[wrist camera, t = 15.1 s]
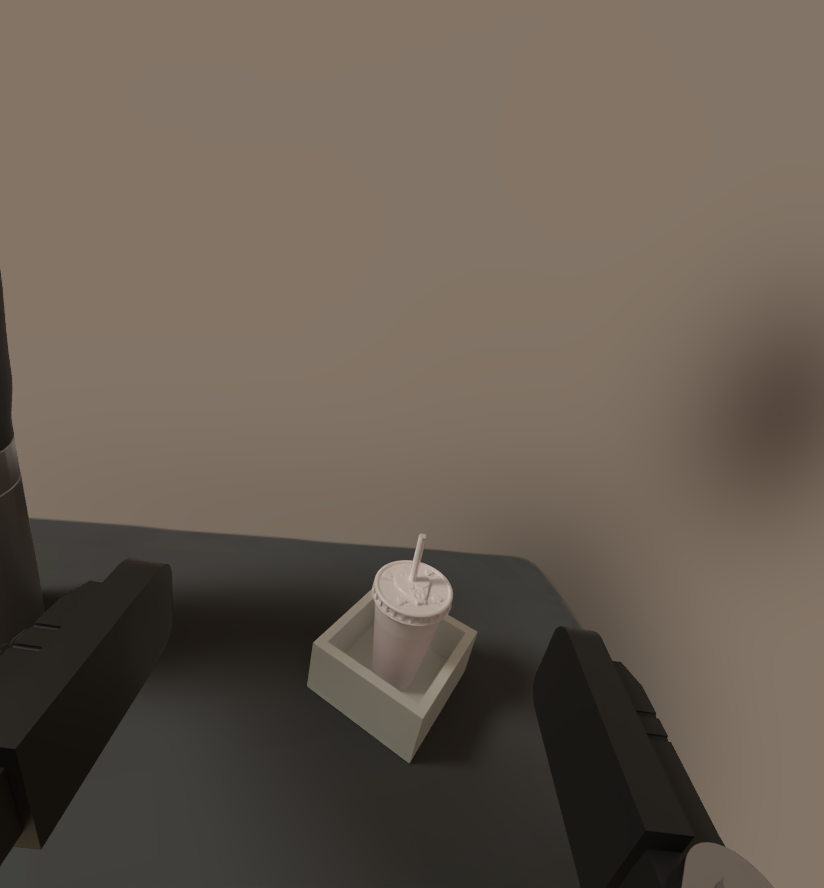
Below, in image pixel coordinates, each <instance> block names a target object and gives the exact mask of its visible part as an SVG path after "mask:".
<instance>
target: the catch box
mask: <svg viewBox="0 0 824 888" xmlns="http://www.w3.org/2000/svg"><path fill="white" fill-rule="evenodd" d="M374 617H375V601H374V599H373V595H372V589H371V590H370V591H369V592H368V593H367V594H366V595H365V596H364V597H363V598H361V599H360V600H359V601H358V602H357V603H356V604H355V605H354V606H353V607H352V608H350V609H349V610H348V611H347V612H346V613H345V614H344V615H343V616H342V617H341V618H340V619H338V620H337V621H336V622H335V623H334V624H333V625H332V626H331V627H330V628H329V629H327V630H326V631H325V632H324V633H323V634H322V635H321V636H320V637H319V638H318V639H316V640H315V641H314V642H313V646H312V654H311V661H310V668H309V675H308V683H307V687H308V688H310V689H311V690H312V691H314V692H315V693H316V694H318V695H319V696H320V697H322V698H323V699H324V700H326V701H327V702H328V703H330V704H331V705H332V706H334V707H335V708H336V709H338V710H339V711H340V712H342V713H343V714H344V715H346V716H347V717H348V718H349V719H351V720H352V721H353V722H355V723H356V724H357V725H359V726H360V727H361V728H363V729H364V730H365V731H367V732H368V733H369V734H371V735H372V736H373V737H375V738H376V739H377V740H379V741H380V742H381V743H383V744H384V745H385V746H387V747H388V748H389V749H391V750H392V751H393V752H395V753H396V754H397V755H399V756H400V757H401V758H403V759H404V760H405V761H407V762H408V763H409V764H410V762H411V760H412V759H413V757H414V755H415V754H416V752H417V750H418V749H419V747H420V745H421V744H422V742H423V740H424V739H425V737H426V735H427V733H428V732H429V730H430V728H431V727H432V725H433V723H434V722H435V720H436V718H437V717H438V715H439V713H440V712H441V710H442V708H443V707H444V705H445V703H446V702H447V700H448V698H449V697H450V695H451V693H452V692H453V690H454V688H455V687H456V685H457V683H458V682H459V680H460V678H461V677H462V675H463V673H464V672H465V669H466V666H467V662H468V659H469V656H470V653H471V650H472V647H473V644H474V641H475V638H476V635H477V631H475V630H473V629H472V628H470V627H468V626H466V625H465V624H463V623H461V622H459V621H458V620H456V619H454V618H452V617H451V616H449V615H447V616H446V617H445V618H444V619H443V620H441V622H440V624H439V626H438V628H437V630H436V632H435V634H434V637H433V639H432V641H431V643H430V645H429V647H428V650H427V652H426V654H425V656H424V658H423V660H422V662H421V665H420V667H419V669H418V671H417V673H416V675H415V678H414V680H413V682H412V684H411V685H410V686H409V687H408V688H407V689H405V690H403V691H399V690H397V689H396V688H394V687H393V686H391V685H390V684H389V683H387V682H386V681H384V680H383V679H381V678H380V677H378V676H377V675H375V674H374V673H373V672H372V661H373V639H374Z"/></svg>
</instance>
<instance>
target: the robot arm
mask: <svg viewBox="0 0 824 888" xmlns="http://www.w3.org/2000/svg"><path fill="white" fill-rule="evenodd" d="M11 407H12V375H11V368H10V360H9V354H8V344H7V334H6V324H5V313H4V301H3V289H2V281H1V273H0V865H1V864H2V862H3V861H4V859H5V858H6V856H7V855H8V853H9V852H10V850H11V849H12V847H21V848H30V849H39V850H41V849H42V847H43V846H44V844H45V842H46V841H47V839H48V838H49V836H50V834H51V833H52V831H53V830H54V828H55V826H56V825H57V823H58V822H59V820H60V818H61V817H62V815H63V813H64V812H65V810H66V809H67V807H68V805H69V804H70V802H71V801H72V799H73V797H74V796H75V794H76V793H77V791H78V789H79V788H80V786H81V784H82V783H83V781H84V780H85V778H86V776H87V775H88V773H89V772H90V770H91V768H92V767H93V765H94V764H95V762H96V760H97V759H98V757H99V755H100V754H101V752H102V751H103V749H104V747H105V746H106V744H107V743H108V741H109V739H110V738H111V736H112V735H113V733H114V731H115V730H116V728H117V726H118V725H119V723H120V722H121V720H122V718H123V717H124V715H125V714H126V712H127V710H128V709H129V707H130V706H131V704H132V702H133V701H134V699H135V698H136V696H137V694H138V693H139V691H140V689H141V688H142V686H143V685H144V683H145V681H146V680H147V678H148V677H149V675H150V673H151V672H152V670H153V669H154V667H155V665H156V664H157V662H158V660H159V659H160V657H161V656H162V654H163V652H164V650H165V648H166V646H167V644H168V641H169V638H170V635H171V631H172V626H173V599H172V571H171V567H170V565H168V564H164V563H157V562H151V561H144V560H138V559H131V558H128V559H126V560H124V561H123V562H121V563H120V564H119V565H118V566H117V568H116V569H115V570H114V571H113V572H112V573H111V574H110V575H109V576H108V577H107V578H106V579H105V580H104V582H103V583H100V582H93V581H89V582H87V583H85V584H83V585H82V586H80V587H78V588H76V589H75V590H73V591H71V592H70V593H68V594H66V595H64V596H63V597H61V598H59V599H58V600H57V601H56V602H55V603H54V604H53V605H52V606H51V607H50V608H49V609H48V610H47V611H46V612H45V608H44V603H43V597H42V591H41V585H40V578H39V573H38V567H37V561H36V556H35V550H34V545H33V539H32V533H31V528H30V522H29V517H28V511H27V506H26V500H25V495H24V489H23V483H22V477H21V472H20V468H19V462H18V456H17V451H16V445H15V439H14V432H13V426H12V419H11ZM533 699H534V707H535V711H536V715H537V719H538V723H539V727H540V731H541V734H542V738H543V742H544V746H545V750H546V754H547V758H548V762H549V766H550V769H551V773H552V777H553V781H554V785H555V789H556V793H557V797H558V801H559V804H560V808H561V812H562V816H563V820H564V824H565V828H566V832H567V836H568V840H569V843H570V847H571V851H572V855H573V859H574V863H575V867H576V871H577V875H578V878H579V882H580V886H581V888H774V887H773V886H772V885H771V884H770V883H769V881H768V880H767V879H766V878H765V877H764V876H763V875H762V874H761V873H760V872H759V871H758V870H757V869H756V868H755V867H754V866H753V865H752V864H751V863H749V862H748V861H747V860H746V859H744V858H743V857H741V856H740V855H739V854H737V853H736V852H734V851H732V850H730V849H728V848H726V847H725V845H724V844H723V842H722V840H721V838H720V837H719V835H718V833H717V831H716V829H715V827H714V825H713V823H712V821H711V819H710V817H709V815H708V814H707V812H706V810H705V808H704V806H703V804H702V802H701V800H700V798H699V796H698V794H697V792H696V790H695V788H694V786H693V785H692V782H691V780H690V778H689V777H688V775H687V773H686V771H685V769H684V767H683V765H682V763H681V761H680V759H679V757H678V755H677V753H676V751H675V749H674V747H673V745H672V743H671V742H668V739H667V737H668V736H667V734H666V732H665V730H664V728H663V726H662V724H661V722H660V720H659V719H657V718H656V712H655V710H654V708H653V707H652V704H651V702H650V701H649V699H648V697H647V695H646V693H645V691H644V689H643V687H642V686H641V684H640V683H639V682H638V681H637V680H636V679H635V678H634V677H633V675H632V674H631V673H630V672H629V671H628V670H627V669H626V667H625V666H624V665H623V664H622V663H621V662H616V661H612V660H611V657H610V655H609V653H608V651H607V649H606V647H605V645H604V643H603V640H602V639H601V637H600V635H599V634H598V633H597V632H594V631H589V630H582V629H576V628H569V627H563V626H560V627H558V628H557V629H556V630H555V632H554V634H553V636H552V638H551V641H550V643H549V645H548V648H547V650H546V652H545V654H544V657H543V659H542V661H541V664H540V666H539V668H538V671H537V673H536V676H535V680H534V687H533Z"/></svg>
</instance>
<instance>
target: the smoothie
mask: <svg viewBox="0 0 824 888" xmlns="http://www.w3.org/2000/svg"><path fill="white" fill-rule="evenodd" d="M425 540H426V535H424V534H420V535H419V539H418V542H417V547H416V551H415V555H414V559H413V561H410V560H402V561H395V562H392V563H389V564H387V565H385V566H383V567H382V568H381V569H380V570H379V571H378V572H377V574H376V576H375V580H374V583H373V587H372V595H373V599H374V601H375V617H374V639H373V661H372V672H373V673H374V674H375V675H377V676H378V677H380V678H381V679H383V680H384V681H386V682H387V683H389V684H390V685H391V686H393V687H394V688H396V689H397V690H399V691H403V690H405V689H407V688H408V687H409V686H410V685H411V684H412V682H413V680H414V678H415V675H416V673H417V671H418V669H419V667H420V665H421V662H422V660H423V658H424V656H425V654H426V652H427V650H428V647H429V645H430V643H431V641H432V639H433V637H434V634H435V632H436V630H437V628H438V626H439V624H440V622H441V620H443V619H444V618H445V617H446V616H447V615H448V614H449V611H450V609H451V603H452V599H453V590H452V587H451V585H450V583H449V581H448V580H447V578H446V577H445V576H444V575H443V574H442V573H440V572H439V571H438V570H436V569H435V568H433V567H431V566H429V565H427V564H424V563H421V562H420V561H421V557H422V553H423V548H424V544H425Z"/></svg>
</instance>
